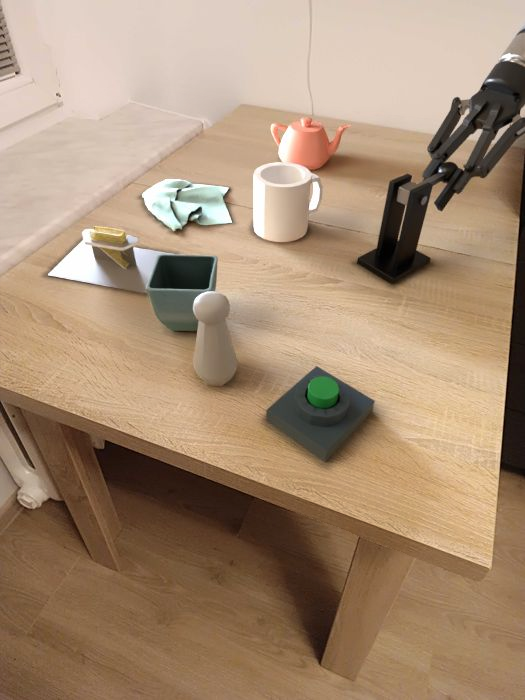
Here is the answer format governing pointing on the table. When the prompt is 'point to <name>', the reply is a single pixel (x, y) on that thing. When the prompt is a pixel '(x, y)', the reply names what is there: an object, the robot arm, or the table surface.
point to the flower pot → (180, 288)
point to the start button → (323, 392)
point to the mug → (284, 200)
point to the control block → (319, 416)
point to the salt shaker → (213, 340)
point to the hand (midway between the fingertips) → (427, 202)
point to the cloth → (187, 203)
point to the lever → (442, 176)
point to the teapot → (306, 143)
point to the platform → (108, 260)
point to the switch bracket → (394, 255)
